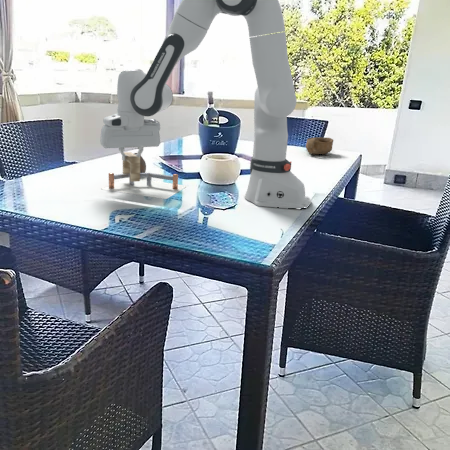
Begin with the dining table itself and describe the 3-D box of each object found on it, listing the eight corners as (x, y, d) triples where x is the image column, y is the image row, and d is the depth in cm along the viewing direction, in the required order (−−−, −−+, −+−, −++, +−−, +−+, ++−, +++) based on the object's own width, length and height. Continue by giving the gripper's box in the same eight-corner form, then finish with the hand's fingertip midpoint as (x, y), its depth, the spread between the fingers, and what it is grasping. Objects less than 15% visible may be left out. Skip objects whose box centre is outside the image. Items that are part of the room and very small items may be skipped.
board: (188, 187, 176) (188, 185, 175) (166, 201, 158) (166, 199, 158) (128, 179, 182) (128, 177, 182) (100, 191, 165) (100, 189, 165)
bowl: (330, 156, 240) (327, 136, 238) (302, 160, 246) (299, 141, 244) (337, 150, 256) (334, 131, 254) (311, 154, 262) (308, 136, 260)
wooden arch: (130, 174, 176) (130, 152, 173) (139, 181, 168) (140, 158, 165) (122, 174, 174) (122, 152, 172) (131, 181, 166) (131, 158, 164)
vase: (142, 179, 184) (142, 156, 181) (124, 177, 185) (124, 154, 182) (148, 175, 190) (148, 152, 187) (131, 173, 191) (131, 150, 188)
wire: (176, 184, 176) (176, 171, 174) (177, 189, 170) (178, 175, 168) (109, 183, 172) (109, 169, 170) (108, 188, 166) (108, 174, 164)
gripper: (156, 118, 172) (156, 156, 176) (98, 118, 162) (99, 159, 167) (163, 120, 167) (162, 160, 171) (103, 121, 157) (104, 163, 162)
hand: (131, 160), depth 169 cm, fingers closed on wooden arch, 3 cm apart
